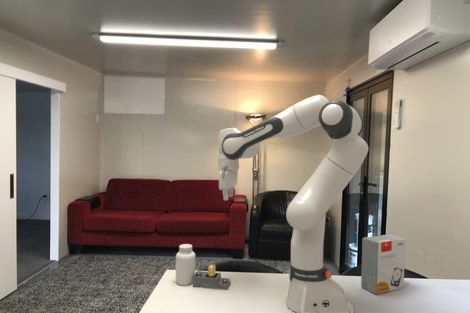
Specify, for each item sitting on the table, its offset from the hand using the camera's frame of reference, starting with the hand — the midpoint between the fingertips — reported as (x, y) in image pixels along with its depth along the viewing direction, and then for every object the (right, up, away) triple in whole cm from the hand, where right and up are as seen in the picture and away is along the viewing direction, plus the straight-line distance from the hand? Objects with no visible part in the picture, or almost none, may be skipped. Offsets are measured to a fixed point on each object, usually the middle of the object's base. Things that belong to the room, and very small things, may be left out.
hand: (228, 198), depth 133 cm
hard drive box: (+61, -35, -9) cm, 71 cm away
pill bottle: (-18, -34, -4) cm, 39 cm away
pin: (-7, -34, -7) cm, 35 cm away
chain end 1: (-9, -34, -7) cm, 36 cm away
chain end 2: (-5, -34, -7) cm, 35 cm away
